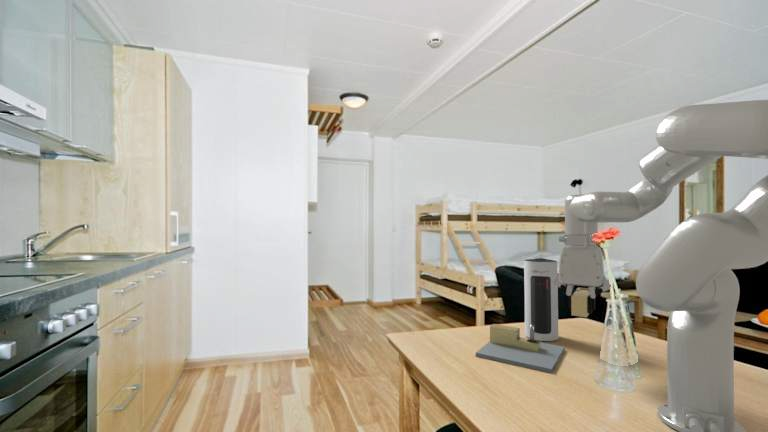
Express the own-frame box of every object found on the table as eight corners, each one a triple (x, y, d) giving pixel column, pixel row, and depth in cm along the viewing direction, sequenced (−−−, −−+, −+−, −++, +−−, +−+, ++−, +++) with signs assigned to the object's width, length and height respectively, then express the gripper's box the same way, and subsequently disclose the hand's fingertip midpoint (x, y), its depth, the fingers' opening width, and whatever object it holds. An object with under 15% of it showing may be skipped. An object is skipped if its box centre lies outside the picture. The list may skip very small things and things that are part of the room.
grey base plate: (551, 373, 92) (551, 369, 92) (475, 356, 104) (475, 352, 104) (564, 350, 109) (564, 346, 109) (497, 337, 120) (497, 334, 120)
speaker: (520, 337, 120) (519, 259, 121) (529, 330, 129) (528, 256, 129) (554, 344, 114) (554, 261, 114) (561, 336, 122) (561, 258, 123)
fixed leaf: (537, 352, 104) (537, 327, 104) (489, 342, 112) (489, 320, 112) (540, 348, 107) (540, 324, 107) (493, 339, 115) (493, 317, 115)
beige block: (588, 317, 90) (588, 297, 90) (570, 315, 93) (570, 295, 93) (594, 306, 102) (594, 289, 102) (578, 304, 104) (578, 287, 104)
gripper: (544, 241, 97) (544, 309, 97) (617, 243, 87) (618, 319, 87) (549, 240, 103) (550, 304, 103) (619, 242, 94) (619, 313, 93)
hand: (581, 310), depth 95 cm, fingers closed on beige block, 3 cm apart
